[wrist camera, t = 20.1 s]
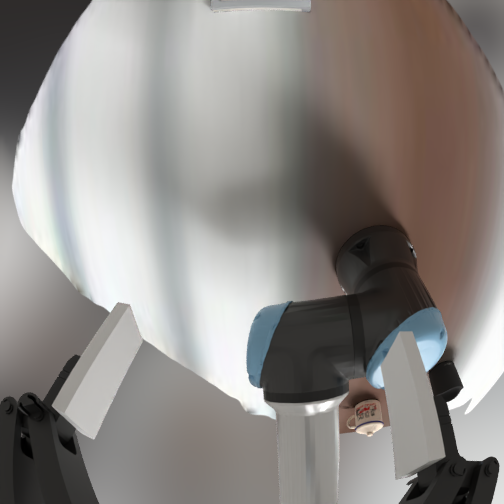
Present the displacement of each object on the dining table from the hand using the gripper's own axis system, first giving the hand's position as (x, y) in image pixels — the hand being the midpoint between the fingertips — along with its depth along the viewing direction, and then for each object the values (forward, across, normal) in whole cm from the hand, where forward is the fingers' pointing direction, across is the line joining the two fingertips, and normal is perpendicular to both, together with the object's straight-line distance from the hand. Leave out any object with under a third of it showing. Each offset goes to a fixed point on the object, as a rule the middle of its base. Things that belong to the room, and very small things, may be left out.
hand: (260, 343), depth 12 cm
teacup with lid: (+33, -33, +70) cm, 84 cm away
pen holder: (+33, -53, +50) cm, 80 cm away
